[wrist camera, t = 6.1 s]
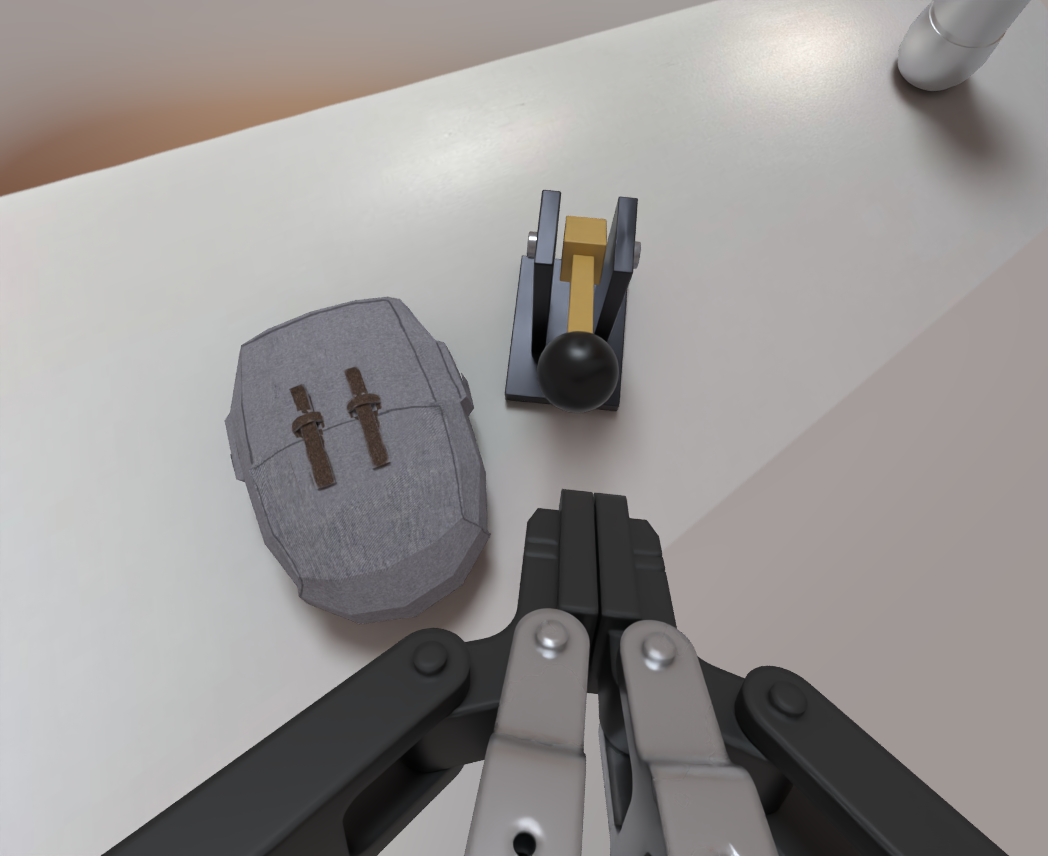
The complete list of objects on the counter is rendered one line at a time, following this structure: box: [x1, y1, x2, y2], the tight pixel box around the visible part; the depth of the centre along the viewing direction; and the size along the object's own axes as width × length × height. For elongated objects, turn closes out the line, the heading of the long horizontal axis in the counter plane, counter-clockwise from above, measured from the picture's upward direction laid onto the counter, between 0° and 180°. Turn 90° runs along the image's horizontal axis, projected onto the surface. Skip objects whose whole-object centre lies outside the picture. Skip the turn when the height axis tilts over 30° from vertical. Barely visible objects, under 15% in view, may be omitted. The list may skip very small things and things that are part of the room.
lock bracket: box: [505, 190, 641, 411], centre depth 34 cm, size 11×8×13 cm
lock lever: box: [537, 216, 619, 413], centre depth 26 cm, size 13×3×3 cm, turn 174°
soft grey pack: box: [225, 297, 491, 624], centre depth 33 cm, size 15×8×20 cm
